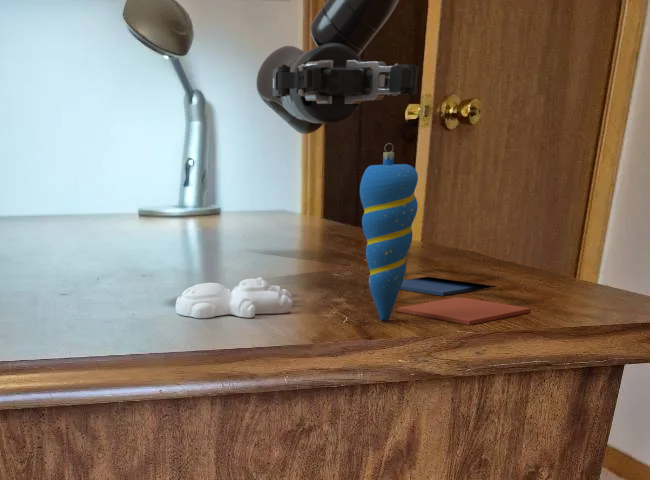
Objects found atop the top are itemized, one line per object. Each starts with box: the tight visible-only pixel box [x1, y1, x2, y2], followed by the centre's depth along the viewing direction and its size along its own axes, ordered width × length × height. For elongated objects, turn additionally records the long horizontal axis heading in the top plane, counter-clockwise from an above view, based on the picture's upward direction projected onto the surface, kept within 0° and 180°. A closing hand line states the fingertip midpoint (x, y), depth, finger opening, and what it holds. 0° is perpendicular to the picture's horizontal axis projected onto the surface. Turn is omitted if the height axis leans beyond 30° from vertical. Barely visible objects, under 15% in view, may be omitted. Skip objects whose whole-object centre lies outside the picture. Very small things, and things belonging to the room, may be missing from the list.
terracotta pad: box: [397, 296, 532, 326], centre depth 77 cm, size 9×9×1 cm
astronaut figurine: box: [175, 276, 294, 319], centre depth 80 cm, size 9×12×3 cm
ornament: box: [359, 142, 419, 322], centre depth 71 cm, size 5×5×15 cm
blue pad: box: [400, 276, 497, 297], centre depth 91 cm, size 9×9×1 cm
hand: (361, 77), depth 74 cm, fingers open, 8 cm apart
